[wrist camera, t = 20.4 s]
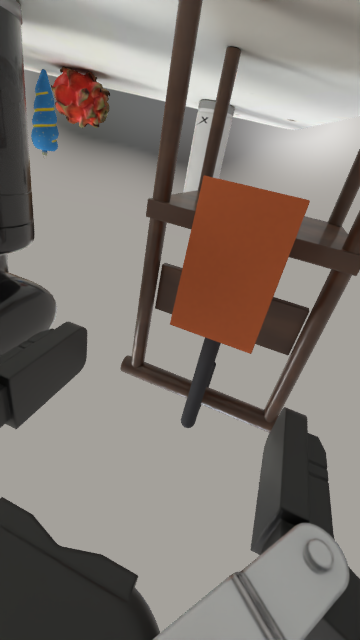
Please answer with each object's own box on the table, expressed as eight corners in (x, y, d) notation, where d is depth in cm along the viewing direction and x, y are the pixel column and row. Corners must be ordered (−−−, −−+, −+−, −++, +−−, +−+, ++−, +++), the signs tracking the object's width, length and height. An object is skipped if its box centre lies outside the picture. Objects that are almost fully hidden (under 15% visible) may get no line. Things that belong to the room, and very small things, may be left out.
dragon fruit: (115, 63, 45) (63, 44, 49) (75, 90, 42) (23, 68, 46) (127, 120, 53) (81, 100, 56) (95, 146, 50) (49, 124, 54)
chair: (418, 78, 21) (284, 362, 35) (220, 50, 24) (167, 320, 38) (528, -8, 11) (278, 440, 25) (164, -37, 14) (119, 374, 28)
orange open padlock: (303, 200, 21) (227, 401, 29) (230, 183, 22) (177, 381, 30) (310, 200, 14) (209, 462, 22) (203, 175, 15) (145, 433, 24)
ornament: (59, 75, 58) (60, 159, 65) (30, 67, 56) (35, 155, 64) (55, 70, 54) (57, 162, 61) (24, 62, 52) (30, 157, 60)
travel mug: (197, 96, 48) (176, 220, 58) (237, 105, 48) (208, 227, 58) (197, 102, 53) (177, 214, 63) (233, 110, 54) (207, 220, 64)
